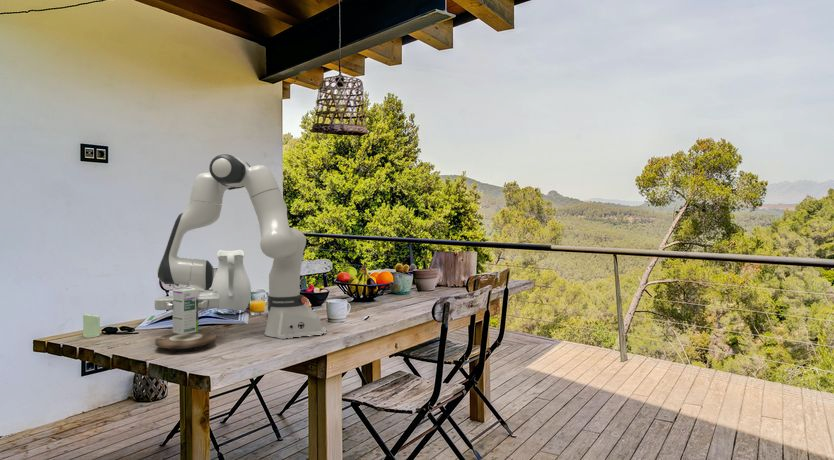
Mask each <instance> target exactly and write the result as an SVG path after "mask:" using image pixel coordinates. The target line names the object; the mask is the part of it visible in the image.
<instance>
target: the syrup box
mask: <svg viewBox="0 0 834 460" xmlns="http://www.w3.org/2000/svg"><path fill="white" fill-rule="evenodd" d="M172 296H173V310H172V333H177V334H182V335H184V334H188V333H193V332H198V331H199V311H198V289H197V288H193V287H188V288H185V287H182V288H173V289H172Z"/></svg>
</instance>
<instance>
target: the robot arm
mask: <svg viewBox="0 0 834 460" xmlns="http://www.w3.org/2000/svg"><path fill="white" fill-rule="evenodd" d="M208 170H209V172H208V171H207V172H201V173H199V174H197V175H196V177H195V179H194V182H193V185H192V188H191V193H190V198H189V203H188V206H187V208H186V209H185V211H184V212H183V213H180V214H178V216H177V218H176V220H175V221H174V223H173V227H172V230H171V233H170V236H169V238H168V241H167V245H166V248H165V250H164V254H163V256H162V258H161V260H160V262H159V265H158V266H157V278H158V279H159V280H160V281H161V282H162V284H164V285H185V287H184V288H188V287H193V288H197V289H198V312H199V311H204V310H211V309H215V308H219V307H220V296H219V294H218V293H217V290H211V286H212V283H213V280H214V277H215V273H214V267H213V265H212V263H211V262H210V261H209V260H207V259H198V258H197V259H196V258H187V257H185V258H184V257H179V256H178V253H179V250H180V246H181V243H182V241H183V238H184V236H185V234H186V233H188V232H189V231H193V230H195V229H201V228H204V227H208V226H210V225H213V224H215V223H216V222H217V221H218V219H220V215H221V211H222V206H223V205H222V204H223V199H224V198H223V197H224V194H225V191H226V190H227V191H228V190H229V191H231V190H235V189H237V190H238V189H242V188H245V189H246V191H247V194H248V197H249V199H250V202H251V203H252V206H253V209H254V212H255V214H256V217H257V220H258V225H259V230H260V231H259V232H260V242H259V244H260V245H259V246H260V249H261V252H262V253H263V254H264V255H265V256H266V257H268V258H271V259H273V261H272V265H271V269H270V271H269V274H268V296H267V304H266V305H267V307H266V308H267V311H268V313H267V320H266V326H265V329H264V336H267V337H270V338H271V337H272V338H278V339H280V340H281V339H282V340H285V339H286V338H288V339H294V338H293V337H299V338H302V337H301V336H308V335H316V334H322V333H324V332H326V330H327V327H326V326H324V325H322V321H321V318H320V316H319V314H318V312H316V311H314V309H312V308H311V307H309V306H308V305H306V303H307V297H306V296H305V295H302V294H300V292H301V286H300V285H301V283H300V282H301V269H302V263H303V258H304V252H305V248H306V244H307V239H306V235H305V234H304V233H303V232H302V231H301V230H299V229H298V228H294V227H290V225H289V220H288V207H287V205H286V201H285V200H284V196H283V194H282V191H281V189H280V187H279V184H278V181H276V178H275V177H274V174H273V173H272V172H271V170H270V168H268V166H266V165H262V164H257V165H253V166H250V164H249V163H248V162H247V161H244V160H242V158H239V157H237V156H233V155H231V154H226V153H224V154H223V153H222V154H219V155H216V156H214V157H213V158H212V159H211V161H210V163H209V169H208ZM154 310H155V311H167V310H168V311H169V310H170V311H173V295H172V296H171V295H168V296H160V297H158V298H156V299H154Z"/></svg>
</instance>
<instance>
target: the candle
mask: <svg viewBox="0 0 834 460" xmlns="http://www.w3.org/2000/svg"><path fill="white" fill-rule="evenodd" d="M82 314H83V313H82ZM100 318H101V317H100V316H99V315H93V314H87V313H84V314H83V315H82V327H83V328H82V330H83V332H82V334H83V338H84V339H86V338H88V339H89V338H97V337H100V336H101V335H100V334H101V329H100V328H101V319H100Z"/></svg>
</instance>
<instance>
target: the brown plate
mask: <svg viewBox="0 0 834 460" xmlns="http://www.w3.org/2000/svg"><path fill="white" fill-rule="evenodd" d="M216 339H217V338H216V334H215V333H213V332H211V331H199V330H198V332H193V333H188V334H184V335H182V334H177V333H174V332H172V333H169V334H164V335H161V336H159V337H157V338H156V339H155V344H154V345H155V346H156V347H159V348H163V349H169V348H188V347H196V346H201V345H203V346H205V345H208V344H211V343H213V342H214V341H216Z"/></svg>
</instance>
